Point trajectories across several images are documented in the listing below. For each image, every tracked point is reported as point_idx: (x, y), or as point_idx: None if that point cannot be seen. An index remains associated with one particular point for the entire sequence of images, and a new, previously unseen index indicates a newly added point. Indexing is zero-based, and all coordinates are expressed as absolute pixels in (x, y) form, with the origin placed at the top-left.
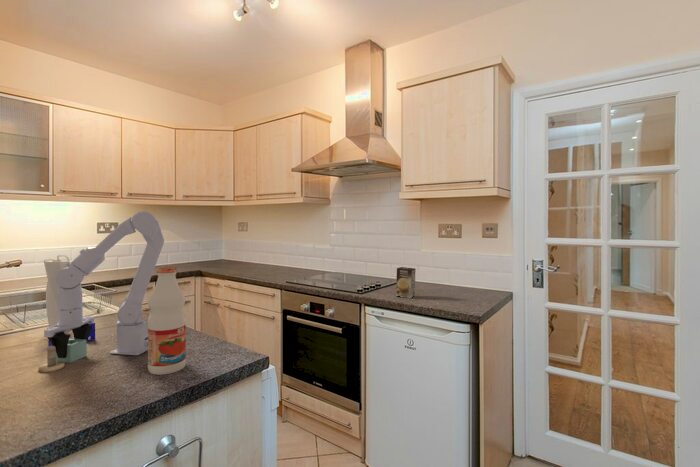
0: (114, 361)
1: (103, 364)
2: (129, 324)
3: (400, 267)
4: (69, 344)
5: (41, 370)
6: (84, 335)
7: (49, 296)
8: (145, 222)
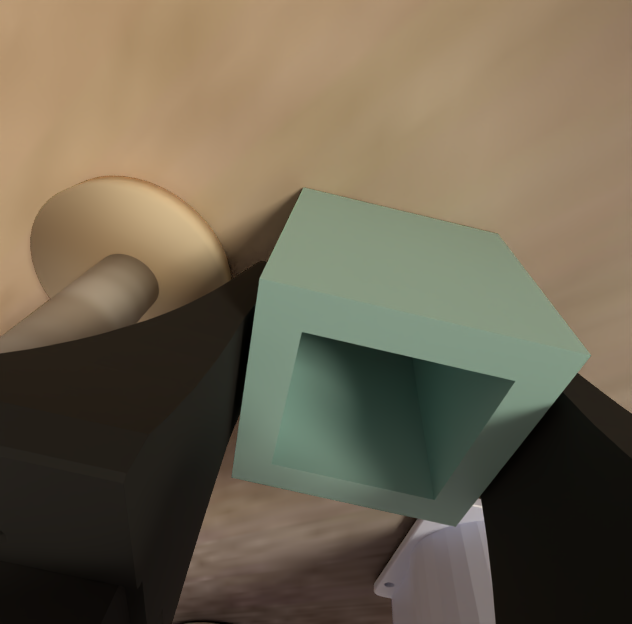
0: (297, 530)
1: (252, 504)
2: None
3: None
4: (260, 456)
5: (38, 251)
6: (496, 565)
7: None
8: None
